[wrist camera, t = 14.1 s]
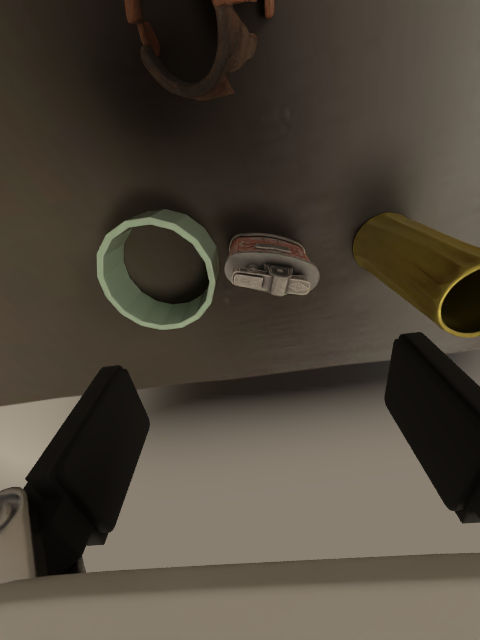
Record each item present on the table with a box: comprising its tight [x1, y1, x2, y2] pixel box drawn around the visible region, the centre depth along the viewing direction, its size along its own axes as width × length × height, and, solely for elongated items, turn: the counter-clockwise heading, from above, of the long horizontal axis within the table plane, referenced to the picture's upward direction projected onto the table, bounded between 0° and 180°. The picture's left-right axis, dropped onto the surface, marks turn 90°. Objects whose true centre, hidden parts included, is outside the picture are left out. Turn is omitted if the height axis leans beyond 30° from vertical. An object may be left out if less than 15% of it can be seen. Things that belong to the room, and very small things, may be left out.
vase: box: [353, 213, 480, 337], centre depth 23 cm, size 6×6×14 cm
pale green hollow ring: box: [97, 209, 220, 330], centre depth 28 cm, size 11×11×5 cm
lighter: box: [225, 233, 319, 296], centre depth 25 cm, size 8×3×10 cm, turn 82°
